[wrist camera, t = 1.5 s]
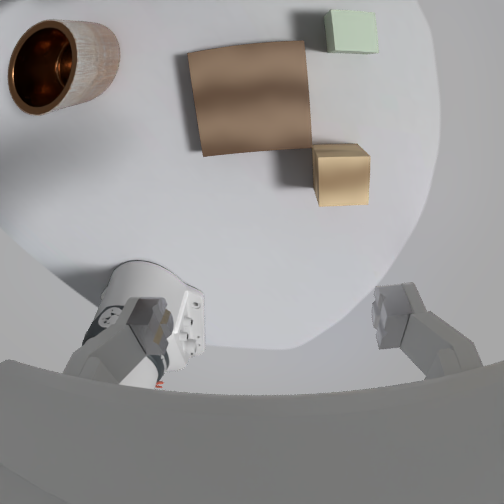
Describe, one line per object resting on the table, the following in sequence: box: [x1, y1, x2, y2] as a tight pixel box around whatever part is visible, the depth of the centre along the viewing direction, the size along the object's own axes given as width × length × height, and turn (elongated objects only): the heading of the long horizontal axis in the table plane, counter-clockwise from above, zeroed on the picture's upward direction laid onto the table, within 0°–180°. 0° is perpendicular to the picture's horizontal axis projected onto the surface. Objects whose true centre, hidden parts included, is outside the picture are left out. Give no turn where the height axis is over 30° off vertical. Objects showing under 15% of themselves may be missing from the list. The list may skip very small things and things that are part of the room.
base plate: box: [187, 41, 312, 157], centre depth 30 cm, size 12×12×2 cm
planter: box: [8, 19, 120, 116], centre depth 25 cm, size 11×11×10 cm
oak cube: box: [312, 144, 370, 207], centre depth 33 cm, size 6×6×6 cm
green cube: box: [324, 10, 379, 54], centre depth 24 cm, size 4×4×4 cm
